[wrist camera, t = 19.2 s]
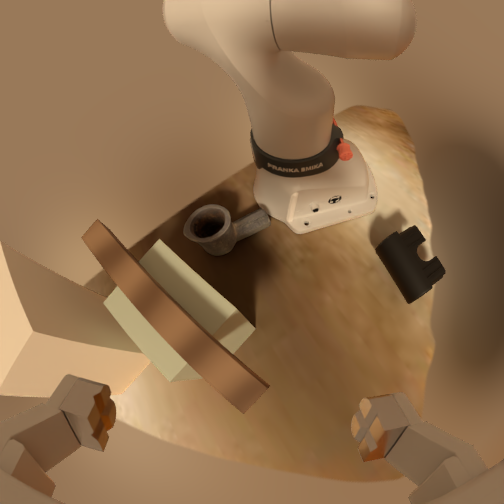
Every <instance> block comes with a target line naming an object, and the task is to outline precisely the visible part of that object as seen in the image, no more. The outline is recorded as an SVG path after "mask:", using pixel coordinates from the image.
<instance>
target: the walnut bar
mask: <svg viewBox="0 0 504 504" xmlns="http://www.w3.org/2000/svg"><path fill="white" fill-rule="evenodd" d="M82 239H83V241H84V242H85V244H86V245H87V246H88V248H89V249H90V250H91V252H92V253H93V254H94V256H95V257H96V259H97V260H98V261H99V263H100V264H101V265H102V267H103V268H104V269H105V271H106V272H107V273H108V274H109V276H110V277H111V278H112V280H113V281H114V282H115V283H116V285H117V286H118V287H119V288H120V290H121V291H122V292H123V293H124V294H125V296H126V297H127V298H128V299H129V300H130V302H131V303H132V304H133V305H134V306H135V307H136V309H137V310H138V311H139V312H140V313H141V314H142V316H143V317H144V318H145V319H146V320H147V321H148V322H149V323H150V325H151V326H152V327H153V328H154V329H155V330H156V331H157V332H158V333H159V334H160V335H161V337H162V338H163V339H164V340H165V341H166V342H167V343H168V344H169V345H170V346H171V347H172V348H173V349H174V350H175V351H176V352H177V353H178V354H179V355H180V356H181V357H182V358H183V359H184V360H185V361H186V362H187V363H188V364H189V365H190V366H191V367H192V368H193V369H194V370H195V371H196V372H197V373H198V374H199V375H200V376H201V377H202V378H203V379H204V380H205V381H207V382H208V383H209V384H210V385H211V386H212V387H213V388H214V389H215V390H216V391H217V392H219V393H220V394H221V395H222V396H223V397H224V398H225V399H226V400H228V401H229V402H230V403H231V404H232V405H233V406H235V407H236V408H237V409H238V410H239V411H240V412H242V413H243V414H244V413H245V412H246V411H247V410H248V409H249V408H250V407H251V406H252V405H253V404H254V403H255V402H256V401H257V400H258V399H259V398H260V397H261V395H262V394H263V393H264V392H265V391H266V390H267V389H268V388H269V387H270V385H269V384H268V383H266V382H265V381H264V380H263V379H261V378H260V377H259V376H258V375H257V374H255V373H254V372H253V371H252V370H251V369H250V368H248V367H247V366H246V365H245V364H244V363H243V362H241V361H240V360H239V359H238V358H237V357H236V356H234V355H233V354H232V353H231V352H230V351H229V350H228V349H227V348H225V347H224V346H223V345H222V344H221V343H220V342H219V341H218V340H217V339H215V338H214V337H213V336H212V335H211V334H210V333H209V332H208V331H207V330H206V329H205V328H204V327H202V326H201V325H200V324H199V323H198V322H197V321H196V320H195V319H194V318H193V317H192V316H191V315H190V314H189V313H188V312H187V311H186V310H185V309H184V308H183V307H182V306H181V305H180V304H179V303H178V302H177V301H176V300H175V299H174V298H173V297H172V296H171V295H170V294H169V293H168V292H167V291H166V290H165V289H164V288H163V287H162V286H161V285H160V284H159V283H158V282H157V281H156V280H155V279H154V278H153V277H152V276H151V275H150V274H149V273H148V272H147V271H146V269H145V268H144V267H143V266H142V265H141V264H140V263H139V262H138V261H137V260H136V259H135V258H134V256H133V255H132V254H131V253H130V252H129V251H128V250H127V249H126V248H125V247H124V245H123V244H122V243H121V242H120V241H119V240H118V239H117V237H116V236H115V235H114V234H113V233H112V232H111V231H110V229H108V228H107V227H106V226H105V225H104V224H103V223H101V222H100V221H99V220H98V219H97V220H96V221H95V222H94V223H93V225H92V226H91V227H90V228H89V229H88V230H87V231H86V233H85V234H84V235H83V236H82Z"/></svg>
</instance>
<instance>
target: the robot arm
mask: <svg viewBox="0 0 504 504" xmlns="http://www.w3.org/2000/svg"><path fill="white" fill-rule="evenodd" d="M163 19H164V22H165V25H166V27H167V29H168V31H169V32H170V33H171V35H172V36H173V37H174V38H175V39H176V40H177V41H178V42H179V43H181V44H183V45H186V46H188V47H190V48H193V49H195V50H197V51H199V52H201V53H203V54H204V55H206V56H207V57H209V58H210V59H211V60H213V61H214V62H215V63H216V64H217V65H218V66H220V67H221V68H222V69H223V70H224V71H225V72H226V73H227V74H228V76H229V77H230V78H231V79H232V80H233V81H234V83H235V84H236V86H237V87H238V88H239V90H240V92H241V94H242V96H243V98H244V100H245V103H246V107H247V110H248V114H249V117H250V122H251V127H252V129H251V139H250V142H251V148H252V154H253V158H254V161H255V163H256V166H257V170H256V178H255V181H254V186H253V191H254V196H255V199H256V201H257V203H258V205H259V206H260V207H261V208H263V209H264V210H265V211H266V213H267V214H269V215H270V216H272V217H274V218H276V219H278V220H281V221H283V222H284V223H286V225H287V226H288V227H289V228H290V229H291V230H292V231H294V232H295V233H297V234H303V233H307V232H310V231H313V230H317V229H320V228H324V227H327V226H330V225H334V224H337V223H341V222H344V221H347V220H351V219H354V218H358V217H361V216H364V215H368V214H371V213H373V212H374V211H375V208H376V204H377V188H376V183H375V180H374V177H373V174H372V172H371V170H370V168H369V166H368V165H367V163H366V162H365V160H364V158H363V156H362V154H361V153H360V151H359V149H358V148H357V147H356V145H355V144H353V143H352V142H351V141H349V140H346V139H344V138H343V133H342V131H341V129H340V128H339V127H338V126H337V123H336V121H335V120H334V118H333V113H334V104H335V96H334V92H333V89H332V87H331V85H330V83H329V82H328V80H327V79H326V78H325V76H324V75H323V74H322V73H321V72H320V71H318V70H317V69H315V68H314V67H312V66H311V65H309V64H307V63H305V62H304V61H302V60H300V59H299V58H298V57H296V56H295V55H294V54H293V53H292V52H291V51H294V52H305V53H313V54H321V55H328V56H335V57H341V58H346V59H368V60H392V59H394V58H396V57H398V56H399V55H400V54H402V53H403V52H404V51H405V50H406V49H407V47H408V46H409V45H410V43H411V41H412V40H413V37H414V35H415V31H416V24H417V20H416V12H415V8H414V5H413V3H412V0H164V1H163ZM370 197H373V199H372V198H370ZM304 223H308V224H309V225H307V226H306V225H304ZM110 395H111V390H110V387H109V386H108V385H106V384H102V383H99V382H95V381H91V380H88V379H85V378H81V377H77V376H74V375H71V374H67V375H65V376H64V377H63V379H62V380H61V382H60V383H59V385H58V386H57V388H56V389H55V391H54V392H53V394H52V395H51V397H50V399H49V400H48V402H47V403H46V404H43V403H42V404H40V405H38V406H35V407H33V408H31V409H29V410H26V411H24V412H22V413H20V414H17V415H15V416H13V417H11V418H8V419H6V420H4V421H1V422H0V504H65V503H63V502H60V501H58V500H56V499H54V498H52V494H53V491H54V489H55V483H54V482H53V481H52V479H51V478H50V477H49V476H48V475H47V474H46V473H45V472H47V471H48V470H50V469H51V468H52V467H54V466H55V465H57V464H58V463H59V462H61V461H62V460H63V459H65V458H66V457H68V456H69V455H70V454H72V453H73V452H74V451H76V450H77V449H78V448H80V447H81V446H80V445H82V446H85V447H88V448H91V449H95V450H98V451H102V452H104V449H105V447H106V444H107V441H108V438H109V436H108V433H107V431H108V430H110V429H111V428H113V426H114V423H115V419H116V407H115V403H114V401H113V400H112V399H111V398H110ZM359 407H360V409H361V410H359V411H358V412H357V413H356V414H355V415H354V417H353V419H352V425H351V429H352V434H353V437H354V439H355V440H357V441H358V442H360V444H359V446H358V450H359V453H360V455H361V458H362V460H363V462H367V461H372V460H377V459H382V458H385V460H386V461H387V462H389V463H390V464H391V465H392V466H393V467H395V468H396V469H397V470H398V471H400V472H401V473H402V474H403V475H405V476H406V477H407V478H409V479H410V480H411V481H412V482H414V483H415V484H416V485H418V486H419V487H418V488H416V489H415V490H414V491H413V492H412V493H411V494H410V496H409V500H410V502H411V504H504V459H503V460H501V461H500V462H498V463H497V464H495V465H494V466H492V467H491V468H490V469H488V468H487V467H486V465H485V463H484V462H483V460H482V459H481V457H480V456H479V454H478V452H477V451H476V449H475V448H474V447H473V445H470V444H469V443H466V442H465V441H463V440H461V439H459V438H457V437H455V436H453V435H451V434H449V433H447V432H445V431H443V430H441V429H440V428H438V427H436V426H434V425H432V424H430V423H428V422H427V421H426V422H423V421H422V420H421V418H420V416H419V415H418V413H417V412H416V410H415V409H414V407H413V405H412V404H411V402H410V401H409V399H408V398H407V396H406V395H405V393H403V392H398V393H393V394H386V395H380V396H373V397H366V398H364V399H362V400H361V402H360V404H359Z"/></svg>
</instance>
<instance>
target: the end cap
mask: <svg viewBox="0 0 504 504" xmlns="http://www.w3.org/2000/svg"><path fill="white" fill-rule="evenodd" d="M424 241H426V239H425V238H424V237H423V235H422V234H421V232H420V231H419V229H418V228H417V227H416V226H415V225H414V226H412V227H409V228H408V229H406V230H405V231H403V232H401V233H400V234H398V232H397V231H396V232H394V233H393V234H391V235H390V236H388V237H387V238H386V239H385V240H384V241H382V242H381V243H380V244H379V245H378V247H377V248H376V253H377V255H378V256H379V258H380V259H381V261H382V262H383V264H384V265H385V267H386V269H387V270H388V272H389V273H390V275H391V277H392V278H393V280H394V281H395V283H396V285H397V286H398V288H399V290H400V291H401V293H402V295H403V296H404V298H405V300H406V302H407V303H408V304H410V303H412V302H414V301H415V300H417V299H418V298H420V297H421V296H422V295H424V294H425V293H427V292H428V291H429V290H431V289H432V285H434V284H435V283H436V282H437V281H439V280H440V279H441V278H442V277H443V275H444V274H445V269H444V267H443V266H442V264H441V262H440V261H439V259H438V258H437V256H435V257H434V258H432V259H431V260H430V261H423V260H421V259H420V258H419V256H418V254H417V247H418V246H419V245H420V244H422V243H423V242H424Z"/></svg>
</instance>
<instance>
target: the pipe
mask: <svg viewBox="0 0 504 504" xmlns="http://www.w3.org/2000/svg"><path fill="white" fill-rule="evenodd" d="M270 225H271V222H270V219H269V217H268V215H267V213H266V211H265V210H264V209H263V208H260V209H257V210H256V211H254V212H251V213H249V214H247V215H245V216H244V217H242V218H240V219H238V220H236V221H234V222H232V223H231V216H230V212H229V211H228V210H227V209H226V208H224V207H223V206H220V205H216V204H210V205H206V206H203V207H201V208H199V209H197V210H196V211H195V212H193V213H192V214H191V216H190V217H189V218H188V220H187V222H186V223H185V225H184V230H183V233H184V235H185V236H186V237H187V238H188V239H190V240H191V241H193V242H197V243H198V244H200V245H201V246H202V247H203V248H204V250H205V251H206V252H207V253H209V254H211V255H214V256H220V255H224V254H226V253H228V252H230V251H231V250H232V249H233V247H234V245H235V243H236V242H237V241H239V240H241V239H244V238H246V237H248V236H250V235H253V234H255V233H257V232H258V231H260V230H263V229H265V228H267V227H268V226H270Z"/></svg>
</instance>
